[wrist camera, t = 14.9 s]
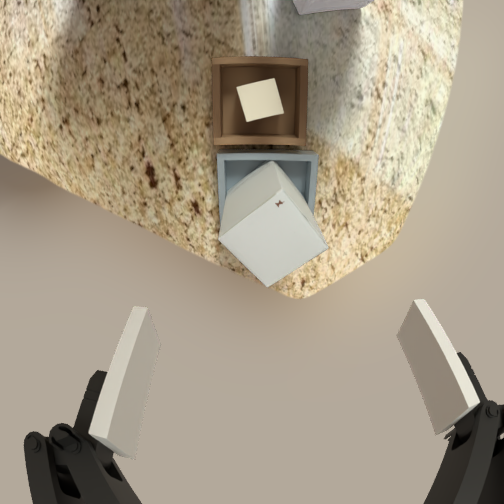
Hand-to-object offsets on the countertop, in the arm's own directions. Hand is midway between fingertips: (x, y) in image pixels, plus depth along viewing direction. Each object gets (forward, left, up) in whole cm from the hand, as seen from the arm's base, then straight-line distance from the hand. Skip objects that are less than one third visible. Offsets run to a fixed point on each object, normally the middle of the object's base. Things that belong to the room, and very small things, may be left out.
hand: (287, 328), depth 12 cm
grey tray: (0, -2, -25) cm, 25 cm away
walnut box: (-1, +10, -25) cm, 27 cm away
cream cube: (-1, +10, -24) cm, 26 cm away
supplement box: (0, -2, -25) cm, 25 cm away
